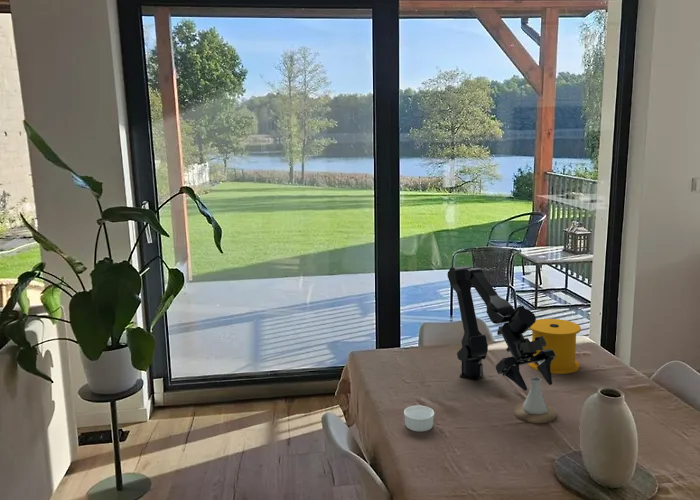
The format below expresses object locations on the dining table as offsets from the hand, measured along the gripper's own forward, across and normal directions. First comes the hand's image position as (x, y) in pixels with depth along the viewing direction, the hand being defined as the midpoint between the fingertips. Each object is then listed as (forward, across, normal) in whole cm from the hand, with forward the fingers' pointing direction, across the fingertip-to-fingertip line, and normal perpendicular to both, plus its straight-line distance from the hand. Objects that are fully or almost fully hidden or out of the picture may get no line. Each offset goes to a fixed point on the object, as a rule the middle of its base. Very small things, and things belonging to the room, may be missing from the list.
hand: (538, 387), depth 171 cm
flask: (+5, 0, +7) cm, 8 cm away
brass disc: (+5, 0, +7) cm, 9 cm away
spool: (-14, +32, +28) cm, 45 cm away
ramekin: (-1, -35, +14) cm, 37 cm away
